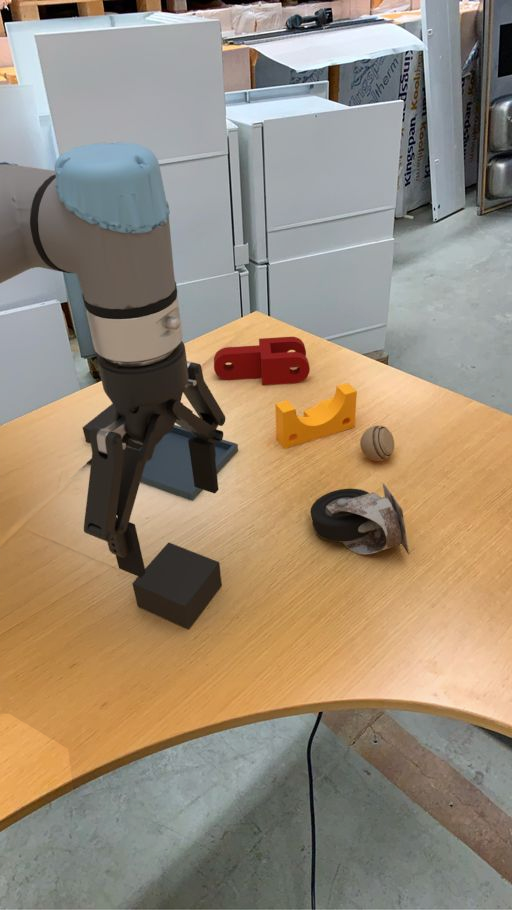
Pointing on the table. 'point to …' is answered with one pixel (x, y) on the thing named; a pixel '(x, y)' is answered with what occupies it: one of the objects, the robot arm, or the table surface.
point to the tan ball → (377, 443)
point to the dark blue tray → (179, 463)
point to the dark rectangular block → (178, 585)
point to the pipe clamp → (316, 418)
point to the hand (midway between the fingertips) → (172, 527)
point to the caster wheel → (360, 520)
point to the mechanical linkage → (264, 361)
